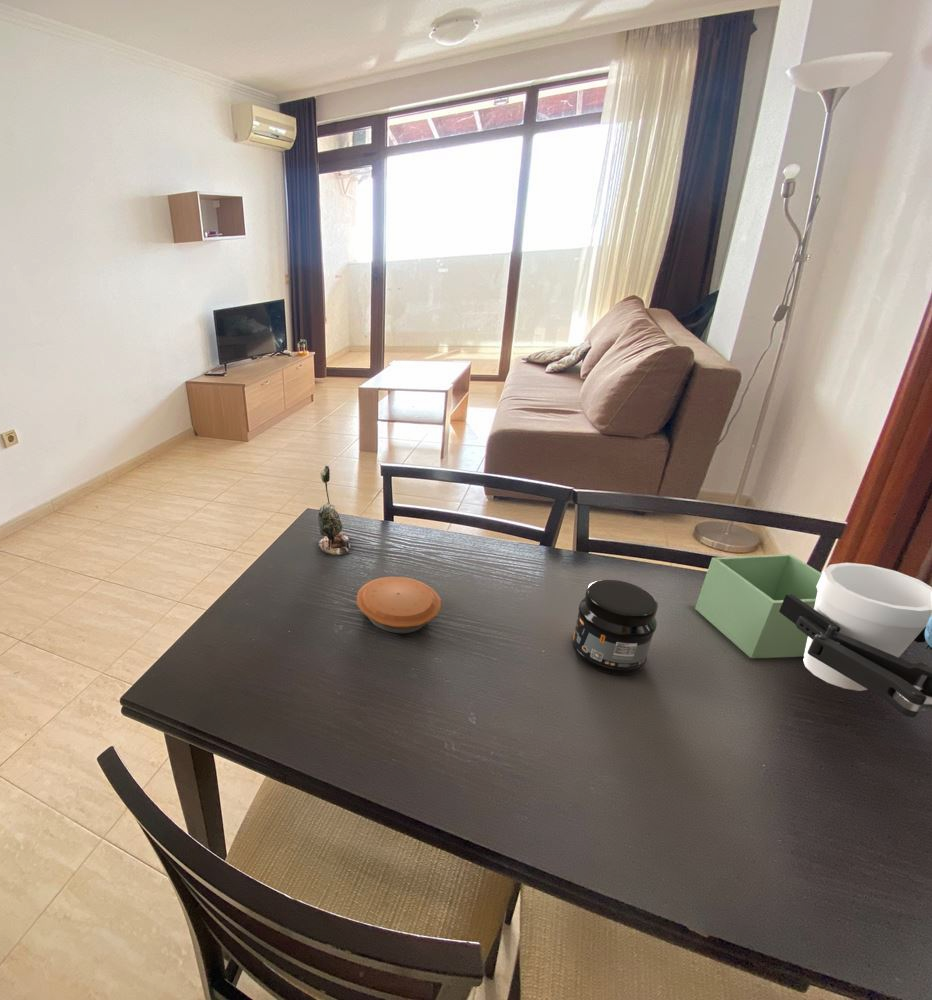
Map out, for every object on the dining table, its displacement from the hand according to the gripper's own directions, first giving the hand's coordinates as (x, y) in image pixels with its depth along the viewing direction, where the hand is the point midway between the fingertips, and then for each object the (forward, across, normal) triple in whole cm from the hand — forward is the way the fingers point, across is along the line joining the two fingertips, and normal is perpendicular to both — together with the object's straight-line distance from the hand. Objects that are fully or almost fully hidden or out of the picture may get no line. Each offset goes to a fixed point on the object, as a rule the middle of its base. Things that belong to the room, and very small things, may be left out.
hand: (827, 601), depth 68 cm
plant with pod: (+53, -58, -20) cm, 81 cm away
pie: (+27, -48, -20) cm, 59 cm away
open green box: (+18, +12, -20) cm, 30 cm away
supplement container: (+14, -16, -20) cm, 29 cm away
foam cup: (-4, 0, -8) cm, 9 cm away
